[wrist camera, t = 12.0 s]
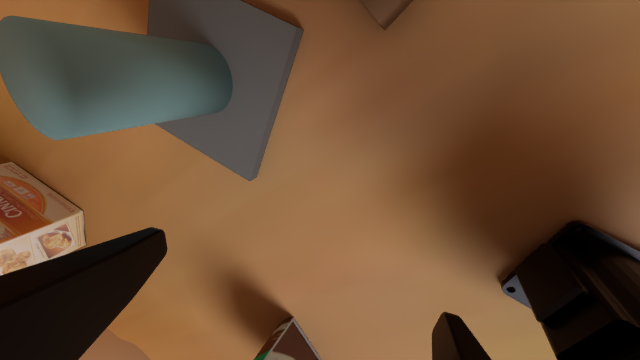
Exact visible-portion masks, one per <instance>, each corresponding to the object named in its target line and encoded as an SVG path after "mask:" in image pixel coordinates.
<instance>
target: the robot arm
mask: <svg viewBox="0 0 640 360" xmlns="http://www.w3.org/2000/svg"><path fill="white" fill-rule="evenodd" d="M577 228H583V229H582V230H581V231H579V232H574V231H575V229H577ZM166 253H167V243H166V237H165V232H164V231H163V230H161V229H157V228H154V227H150V228H147V229H144V230H140V231H137V232H134V233H131V234H128V235H125V236H122V237H119V238H116V239H112V240H109V241H106V242H103V243H100V244H97V245H94V246H91V247H88V248H84V249H81V250H78V251H75V252H72V253H69V254H66V255H63V256H60V257H56V258H53V259H50V260H47V261H44V262H41V263H38V264H35V265H32V266H28V267H25V268H22V269H19V270H16V271H13V272H10V273H7V274H4V275H0V360H78V359H79V358H80V357H81V356H82V355H83V354H84V353H85V351H86V350H87V349H88V348H89V347H90V346H91V345H92V344H93V342H94V341H95V340H96V339H97V338H98V337H99V336H100V335H101V334H102V332H103V331H104V330H105V329H106V328H107V327H108V326H109V325H110V324H111V322H112V321H113V320H114V319H115V318H116V317H117V316H118V315H119V313H120V312H121V311H122V310H123V309H124V308H125V307H126V306H127V305H128V303H129V302H130V301H131V300H132V299H133V298H134V296H135V295H136V294H137V293H138V291H139V290H140V289H141V287H142V286H143V285H144V283H145V282H146V281H147V279H148V278H149V277H150V275H151V274H152V273H153V271H154V270H155V269H156V267H157V266H158V265H159V263H160V262H161V261H162V259H163V258H164V257H165V255H166ZM507 287H513V288H511V289H509V288H507ZM501 288H502V290H503V292H504V293H505V294H506V295H508V296H510V297H512V298H513V299H515V300H517V301H518V302H520V303H522V304H524V305H525V306H527V307H529V308H531V309H532V311H533V313H534V316H535V318H536V320H537V321H538V322H540V323H541V325H542V328H543V330H544V332H545V334H546V336H547V339H548V341H549V343H550V345H551V347H552V350H553V352H554V354H555V356H556V358H557V360H640V250H638V249H636V248H634V247H632V246H630V245H628V244H626V243H625V242H623V241H621V240H619V239H617V238H615V237H613V236H611V235H609V234H607V233H605V232H603V231H601V230H599V229H597V228H595V227H593V226H591V225H589V224H587V223H585V222H583V221H572V222H570V223H568V224H567V225H566V226H565V227H564V228H563V229H561V230H560V231H559V232H558V233H557V234H556V235H555V236H553V237H552V238H551V239H550V240H549V241H548V242H547V243H544V244H542V245H541V246H540V247H539V248H538V249H536V250H535V251H534V252H533V253H532V254H531V255H530V256H528V257H527V258H526V259H525V260H524V261H523V262H522V263H521V264H519V265H518V266H517V267H516V268H515V271H514V272H513V273H511V274H510V275H509V276H508V277H507V278H506V279H505V280H503V281H502V283H501ZM432 360H491V358H490V357H489V356H488V354H487V353H486V352H485V350H484V349H483V347H482V346H481V345H480V343H479V342H478V341H477V339H476V338H475V337H474V335H473V334H472V333H471V331H470V330H469V328H468V327H467V326H466V324H465V323H464V322H463V320H462V319H461V318H460V317H459V316H457V315H454V314H451V313H448V312H443V313H442V314H441V316H440V317H439V319H438V321H437V323H436V325H435V327H434V329H433V332H432Z"/></svg>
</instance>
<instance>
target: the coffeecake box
mask: <svg viewBox="0 0 640 360" xmlns="http://www.w3.org/2000/svg"><path fill="white" fill-rule="evenodd" d="M84 245H86V243H85V236H84V216H83V211H82V210H81V209H79V208H78V207H76V206H75V205H74V204H72V203H71V202H69V201H68V200H66V199H65V198H63V197H62V196H61V195H59V194H58V193H56V192H55V191H53V190H52V189H50V188H49V187H47V186H46V185H45V184H43V183H42V182H40V181H39V180H37V179H36V178H35V177H33V176H32V175H30V174H29V173H27V172H26V171H25V170H23V169H22V168H20V167H19V166H18V165H16V164H15V163H13V162H9V163H4V164H0V275H4V274H7V273H10V272H13V271H16V270H19V269H22V268H25V267H28V266H32V265H35V264H38V263H41V262H44V261H47V260H50V259H53V258H56V257H60V256H63V255H66V254H68V253H70V252H72V251H74V250H76V249H78V248H80V247H82V246H84Z"/></svg>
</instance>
